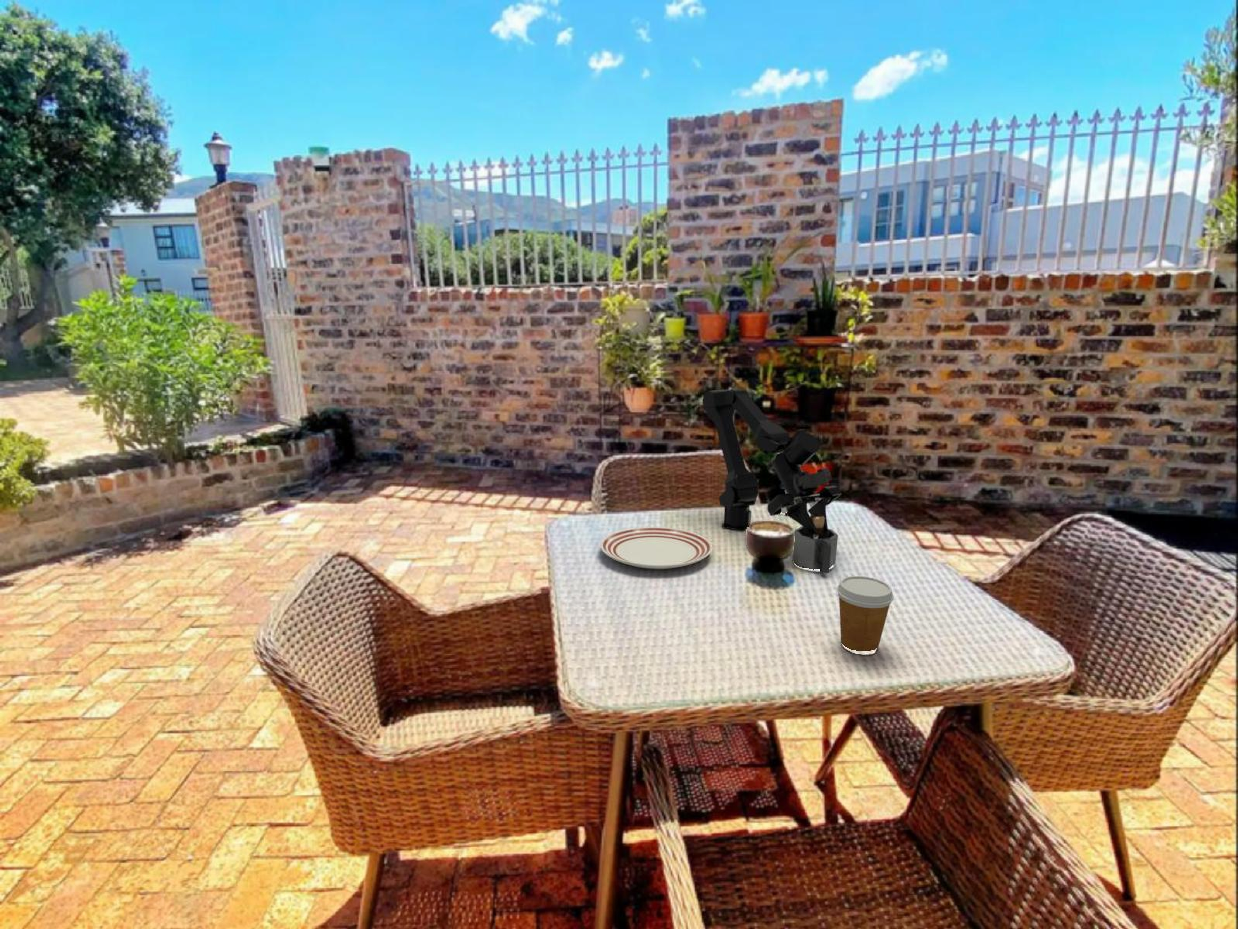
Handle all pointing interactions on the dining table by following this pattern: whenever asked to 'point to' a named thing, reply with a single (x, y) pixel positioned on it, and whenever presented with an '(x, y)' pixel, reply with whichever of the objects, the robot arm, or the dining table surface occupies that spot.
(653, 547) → the dinner plate
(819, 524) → the plunger
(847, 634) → the disposable coffee cup
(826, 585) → the dining table surface
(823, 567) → the press carafe
